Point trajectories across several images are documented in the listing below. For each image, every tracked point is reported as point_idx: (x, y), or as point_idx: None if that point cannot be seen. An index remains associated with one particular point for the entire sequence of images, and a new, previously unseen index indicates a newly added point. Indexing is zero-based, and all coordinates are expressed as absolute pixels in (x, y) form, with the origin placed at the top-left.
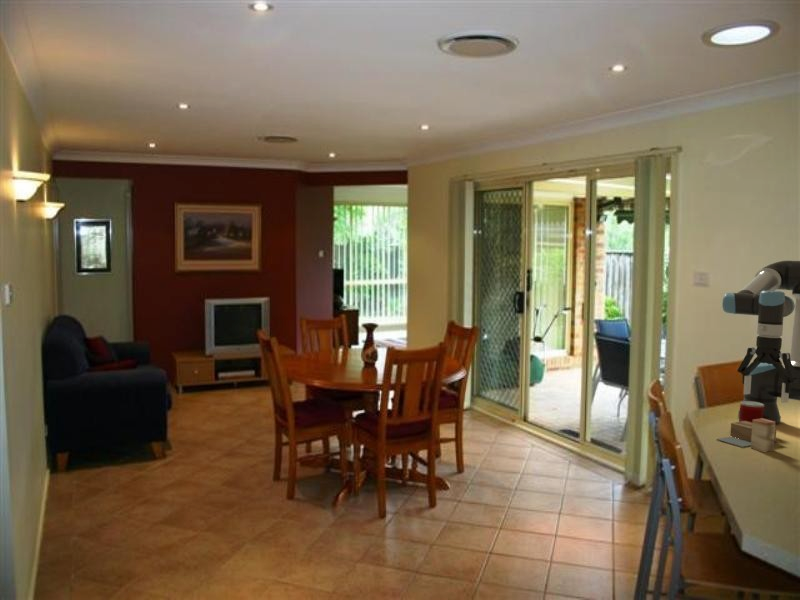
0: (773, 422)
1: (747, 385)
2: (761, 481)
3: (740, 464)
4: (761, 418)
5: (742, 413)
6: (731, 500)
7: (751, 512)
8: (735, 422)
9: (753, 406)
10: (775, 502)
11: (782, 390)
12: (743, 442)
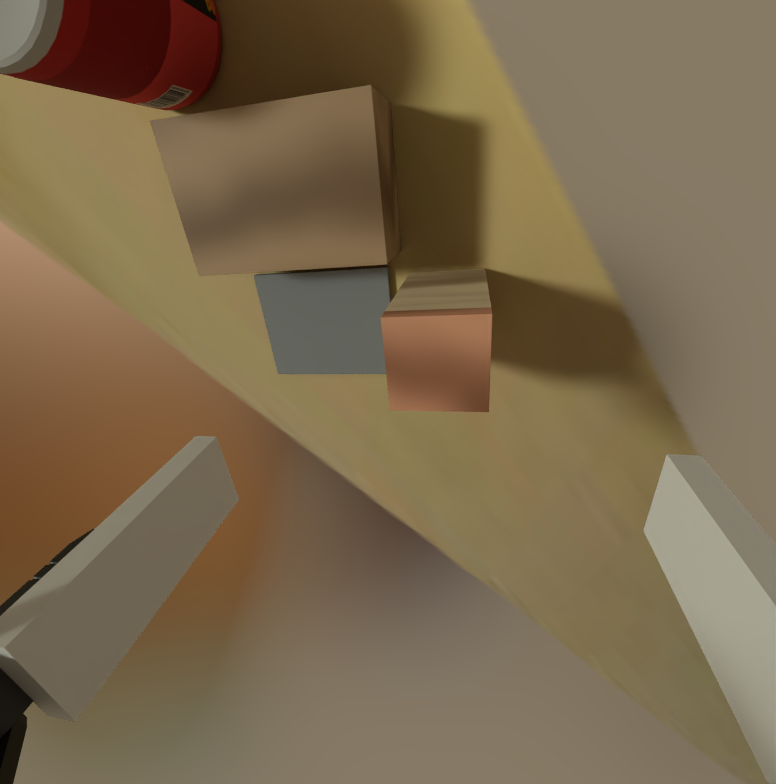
0: (490, 335)
1: (172, 558)
2: (667, 613)
3: (533, 538)
4: (385, 325)
5: (68, 88)
6: (678, 731)
7: (746, 754)
8: (187, 235)
9: (52, 24)
10: None
11: (736, 693)
12: (349, 311)
